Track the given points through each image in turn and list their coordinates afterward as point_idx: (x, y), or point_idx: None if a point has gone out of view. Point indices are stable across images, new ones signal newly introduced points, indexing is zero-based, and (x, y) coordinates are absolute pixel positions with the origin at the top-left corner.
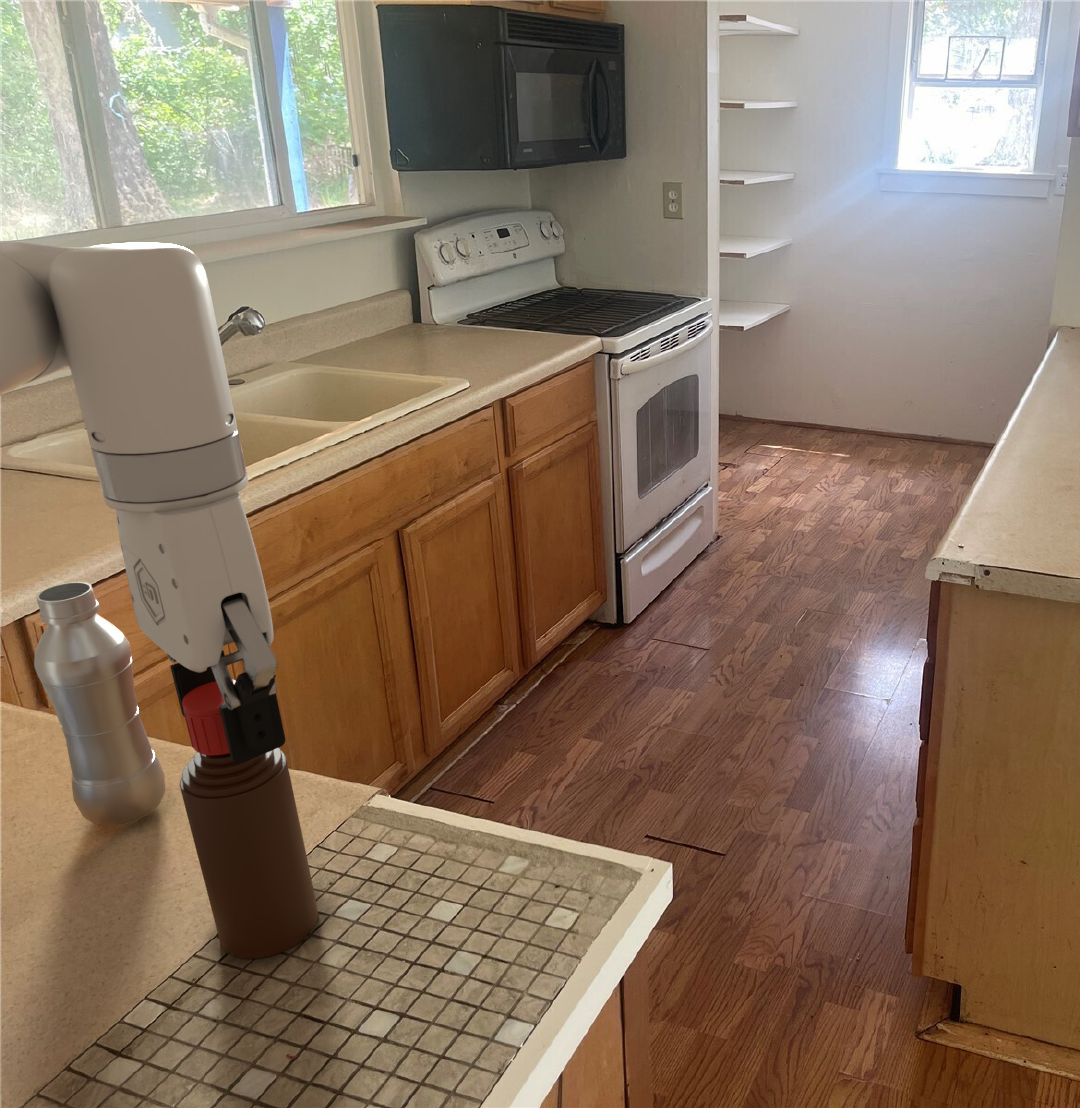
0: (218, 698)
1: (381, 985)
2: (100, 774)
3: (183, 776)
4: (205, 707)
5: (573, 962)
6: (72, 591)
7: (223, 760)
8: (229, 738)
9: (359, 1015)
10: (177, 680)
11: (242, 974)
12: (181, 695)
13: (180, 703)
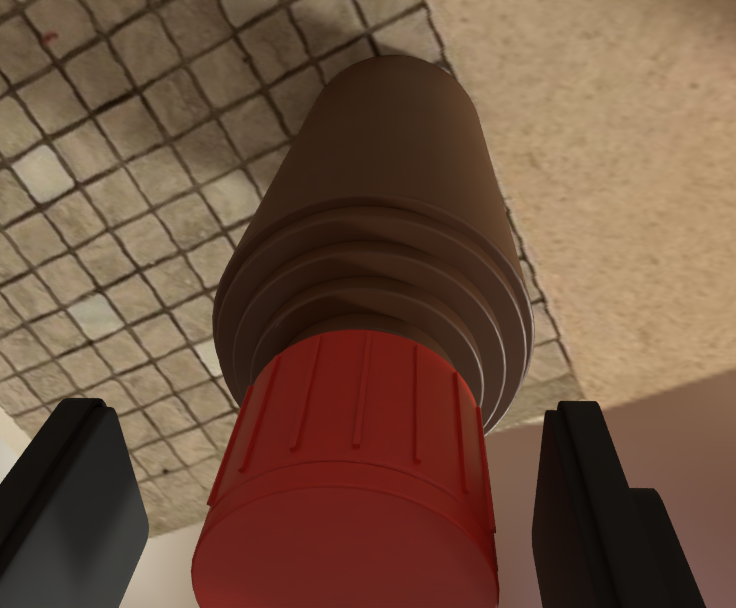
0: (297, 590)
1: (121, 214)
2: None
3: (418, 229)
4: (247, 534)
5: (10, 407)
6: None
7: None
8: (7, 478)
9: (76, 160)
10: (607, 567)
11: (301, 55)
12: (589, 492)
13: (596, 450)
